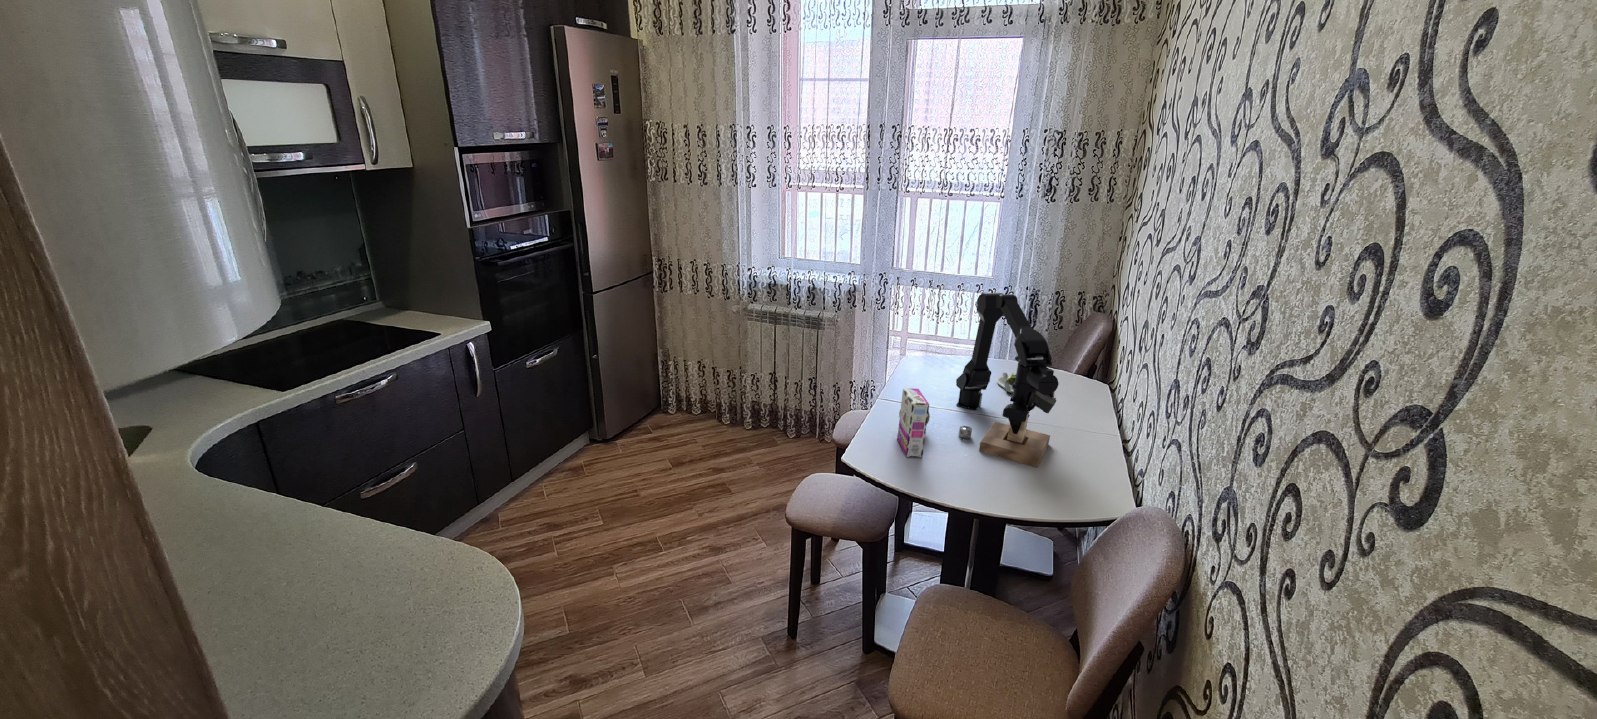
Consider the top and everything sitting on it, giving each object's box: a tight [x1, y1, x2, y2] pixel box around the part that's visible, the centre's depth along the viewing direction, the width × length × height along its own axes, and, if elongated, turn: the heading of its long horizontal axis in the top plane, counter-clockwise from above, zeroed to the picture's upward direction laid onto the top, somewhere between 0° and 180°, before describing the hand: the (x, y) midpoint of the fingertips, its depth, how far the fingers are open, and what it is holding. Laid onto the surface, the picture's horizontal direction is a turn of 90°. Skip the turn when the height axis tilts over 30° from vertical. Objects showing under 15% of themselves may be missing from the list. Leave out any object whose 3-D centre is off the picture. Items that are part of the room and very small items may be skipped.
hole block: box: [978, 420, 1051, 468], centre depth 177 cm, size 16×16×3 cm
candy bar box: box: [897, 388, 930, 459], centre depth 172 cm, size 11×5×16 cm, turn 5°
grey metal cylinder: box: [957, 425, 973, 441], centre depth 182 cm, size 4×4×3 cm
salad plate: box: [996, 372, 1016, 395], centre depth 222 cm, size 19×18×5 cm
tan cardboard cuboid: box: [1007, 418, 1029, 443], centre depth 176 cm, size 4×4×7 cm
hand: (1017, 430), depth 176 cm, fingers closed on tan cardboard cuboid, 4 cm apart
